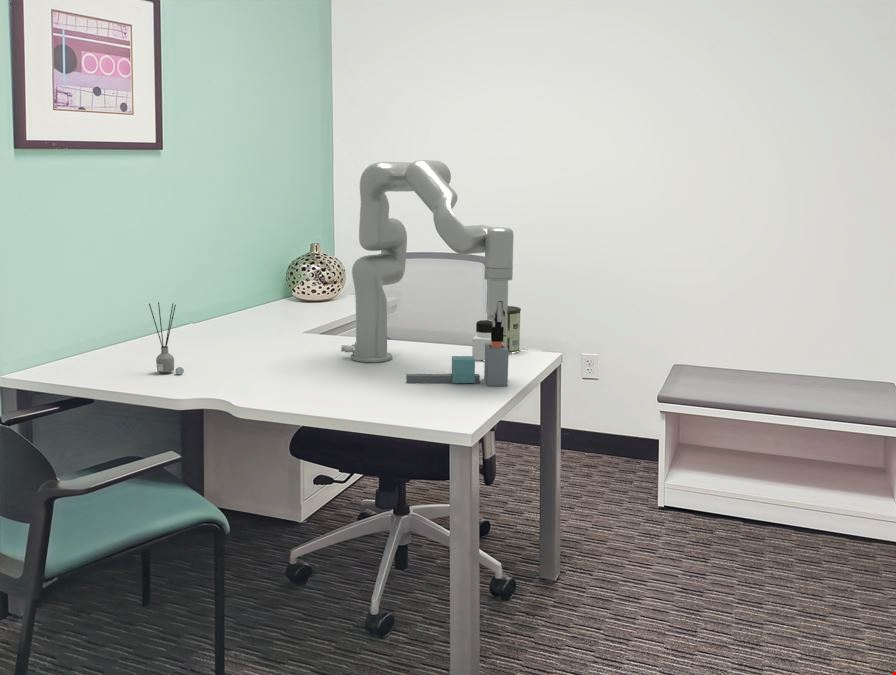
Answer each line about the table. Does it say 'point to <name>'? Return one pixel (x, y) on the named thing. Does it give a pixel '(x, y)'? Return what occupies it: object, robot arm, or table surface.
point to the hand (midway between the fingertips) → (497, 340)
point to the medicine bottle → (481, 339)
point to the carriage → (463, 369)
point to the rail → (433, 378)
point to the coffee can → (511, 328)
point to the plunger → (496, 344)
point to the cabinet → (496, 365)
